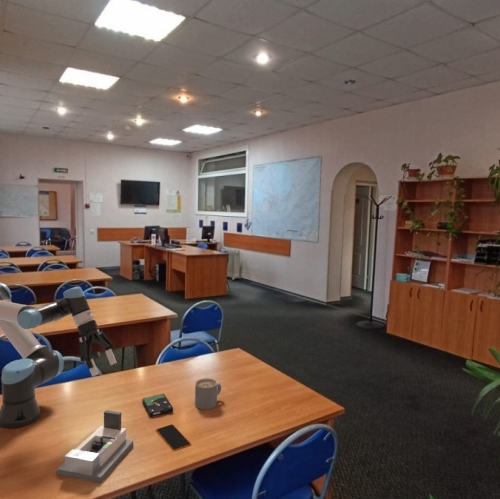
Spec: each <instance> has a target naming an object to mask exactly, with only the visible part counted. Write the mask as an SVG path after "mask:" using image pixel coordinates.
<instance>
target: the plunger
mask: <svg viewBox="0 0 500 499" xmlns="http://www.w3.org/2000/svg"><path fill="white" fill-rule="evenodd" d="M103 426H104V428H103V429H102V430H101V431H100V432H99V433H97V434H96V435H95V441H98V442H100V437H101V436H103V435H106V436H112V437H114V436H115V435H116V434H117V433H118V432H119V431H120V430H121V429H122V412H121V411H115V410H107V409H106V410H105V411H104V412H103ZM110 440H111V439H107V438H103V442H104V443H108V442H109V441H110Z"/></svg>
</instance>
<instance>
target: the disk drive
mask: <svg viewBox="0 0 500 499" xmlns="http://www.w3.org/2000/svg"><path fill="white" fill-rule="evenodd" d="M141 401H142V404H143V407H144V409H145V410H146V413H147V414H148V416H149V418H155V417H159V416H163V415H168V414H172V413H174V406H173V405H172V404H171V402H170V401H169V398H167V396H166V395H165V394H164V393H162V394H156V395H155V394H154V395H152V396H148V397H142V400H141Z"/></svg>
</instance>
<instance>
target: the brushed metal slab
mask: <svg viewBox="0 0 500 499" xmlns="http://www.w3.org/2000/svg"><path fill="white" fill-rule="evenodd" d="M64 462H65V471H70V472H75V473H81V474H86V475H91V476H92V475H93V474H94V473H95V472H96V471H97V470H98V469H99V453H93V452H87V451H82V450H76V448H75V449H74V448H72V449H71V450H70V451H69V452H67V453H66V454H65V455H64Z"/></svg>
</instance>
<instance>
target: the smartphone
mask: <svg viewBox="0 0 500 499" xmlns="http://www.w3.org/2000/svg"><path fill="white" fill-rule="evenodd" d="M155 432H156V433H157V434H158V435H159V436H160V437H161V438H162V440H163V441H164V442H165V443H166V444H167V446H168V447H169V448H170V450H172V451H173V452H175V451H179V450H181V449H184V448H187V447H190V446H191V445H192V443H191V442H190V441H189V440H188V439H187V438H186V437H185V436H184V434H182V433H181V431H180V430H179V429H178V428H177V427H176V425H174V424H172V423H171V424H168V425H165V426H162V427H159V428H156V429H155Z"/></svg>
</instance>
